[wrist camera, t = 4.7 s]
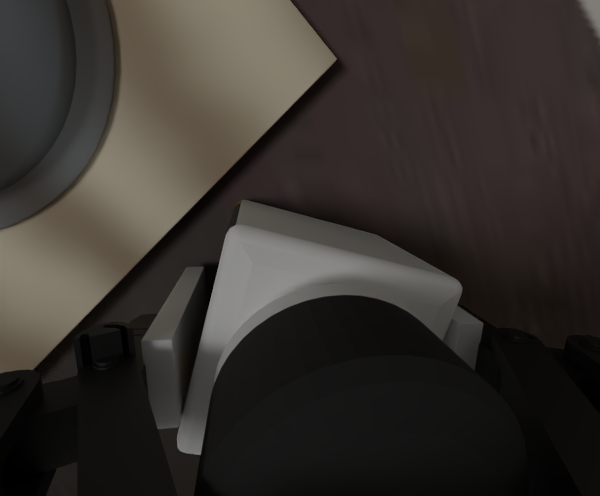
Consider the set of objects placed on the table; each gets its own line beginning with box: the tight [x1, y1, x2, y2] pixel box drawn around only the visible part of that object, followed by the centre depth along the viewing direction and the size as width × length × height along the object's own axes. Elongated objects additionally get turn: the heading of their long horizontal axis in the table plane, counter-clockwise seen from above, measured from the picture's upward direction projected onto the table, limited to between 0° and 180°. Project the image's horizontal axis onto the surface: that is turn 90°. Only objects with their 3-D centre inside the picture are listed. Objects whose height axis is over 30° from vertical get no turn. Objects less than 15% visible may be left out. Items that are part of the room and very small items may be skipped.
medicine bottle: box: [177, 200, 529, 496], centre depth 11 cm, size 7×7×12 cm
